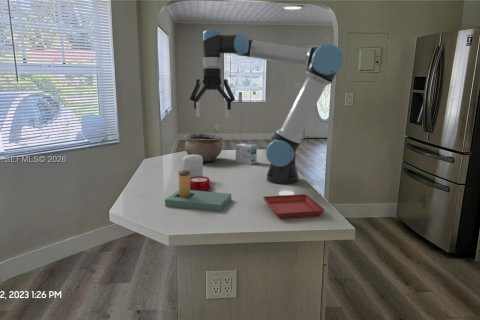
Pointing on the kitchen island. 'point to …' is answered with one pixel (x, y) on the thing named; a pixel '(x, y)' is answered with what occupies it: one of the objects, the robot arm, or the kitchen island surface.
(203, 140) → the ceramic bowl
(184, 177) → the plug
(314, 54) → the robot arm
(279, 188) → the kitchen island surface
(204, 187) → the alarm clock
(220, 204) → the socket board
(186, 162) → the photo printer
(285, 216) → the plant saucer
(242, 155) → the light bulb box
